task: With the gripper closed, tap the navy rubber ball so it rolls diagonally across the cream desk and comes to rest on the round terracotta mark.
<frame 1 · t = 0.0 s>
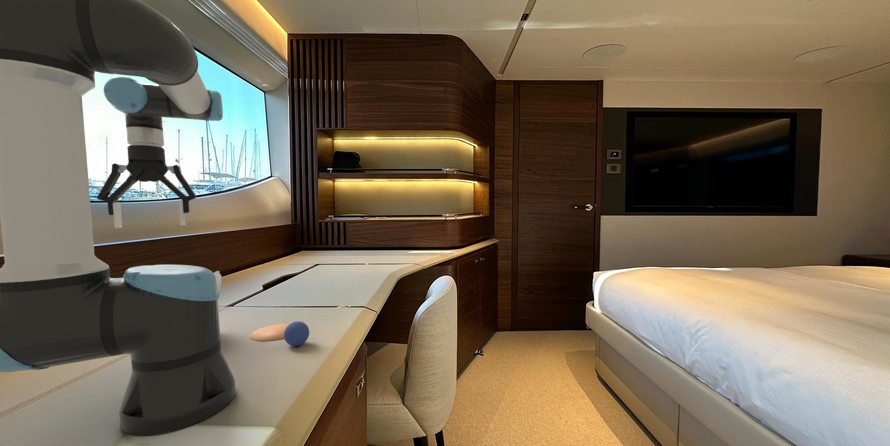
hand: (151, 226, 94), 28 cm above the table, tool pointing down, fingers open, 13 cm apart
shell sculpture: (202, 335, 91), on the table
ball: (296, 333, 83), on the table
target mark: (276, 332, 92), on the table
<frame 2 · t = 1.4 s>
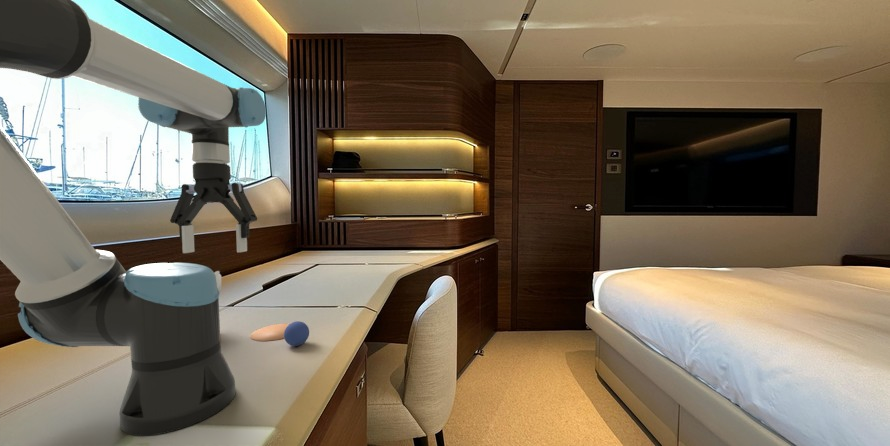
hand: (215, 252, 85), 22 cm above the table, tool pointing down, fingers open, 13 cm apart
nothing on the table moved.
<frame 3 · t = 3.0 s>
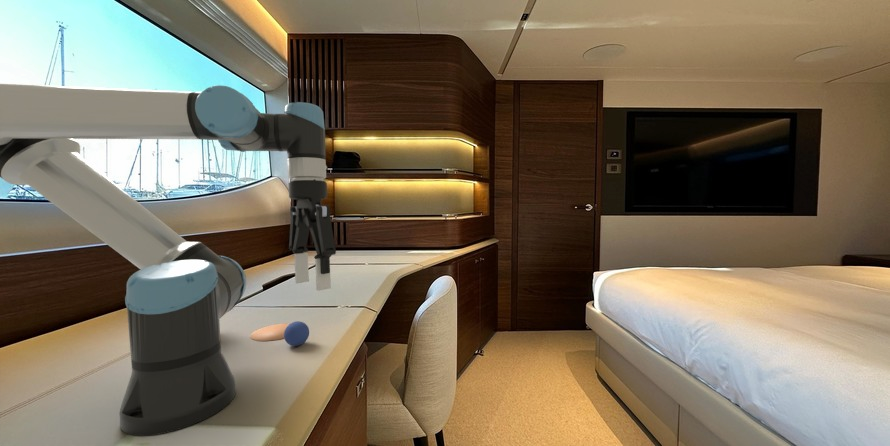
hand: (312, 285, 75), 16 cm above the table, tool pointing down, fingers open, 9 cm apart
nothing on the table moved.
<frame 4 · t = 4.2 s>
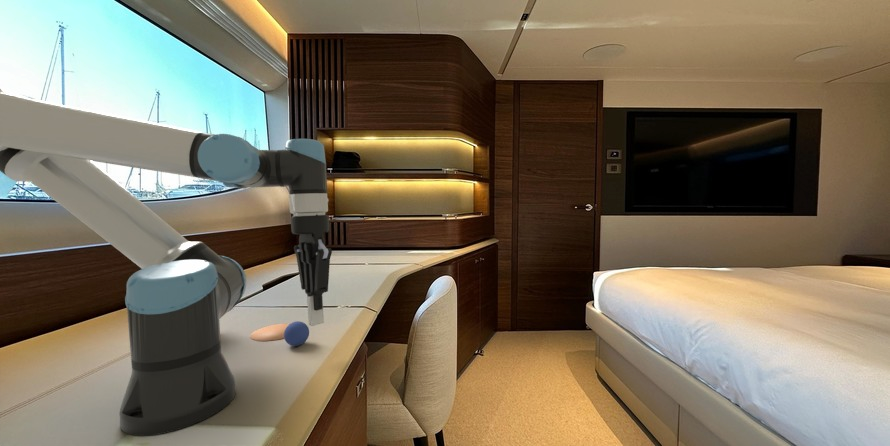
hand: (316, 323, 76), 7 cm above the table, tool pointing down, fingers closed
nothing on the table moved.
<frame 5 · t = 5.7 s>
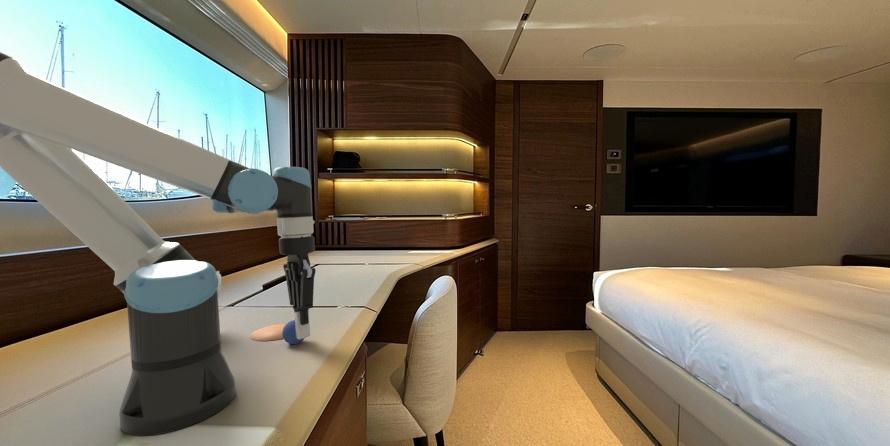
hand: (303, 336, 82), 2 cm above the table, tool pointing down, fingers closed
ball: (294, 331, 84), on the table, touching gripper
everything else where it was.
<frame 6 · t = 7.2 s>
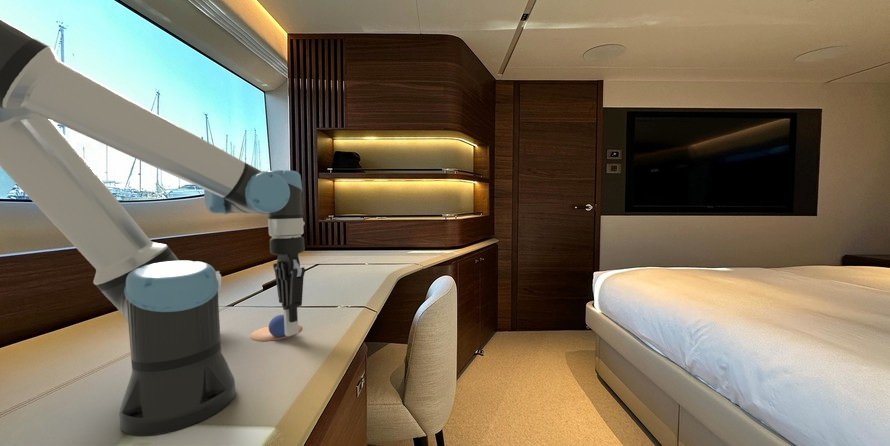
hand: (291, 333, 85), 2 cm above the table, tool pointing down, fingers closed
ball: (280, 326, 88), on the table
everything else where it was.
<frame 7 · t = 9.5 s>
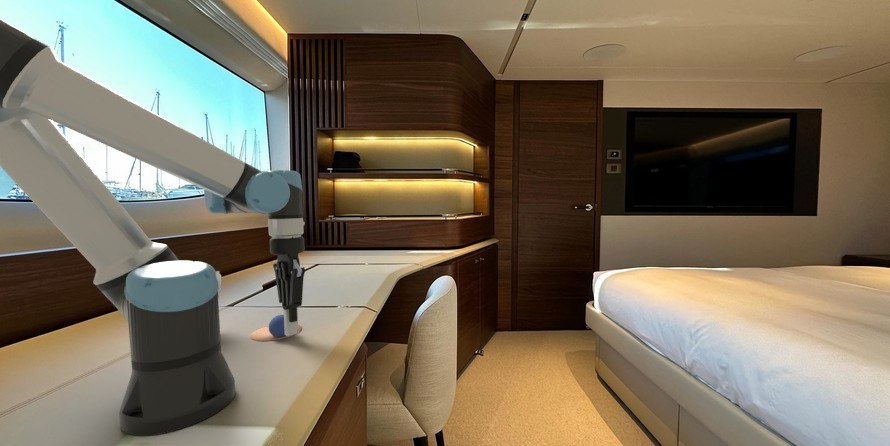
hand: (291, 333, 85), 2 cm above the table, tool pointing down, fingers closed
nothing on the table moved.
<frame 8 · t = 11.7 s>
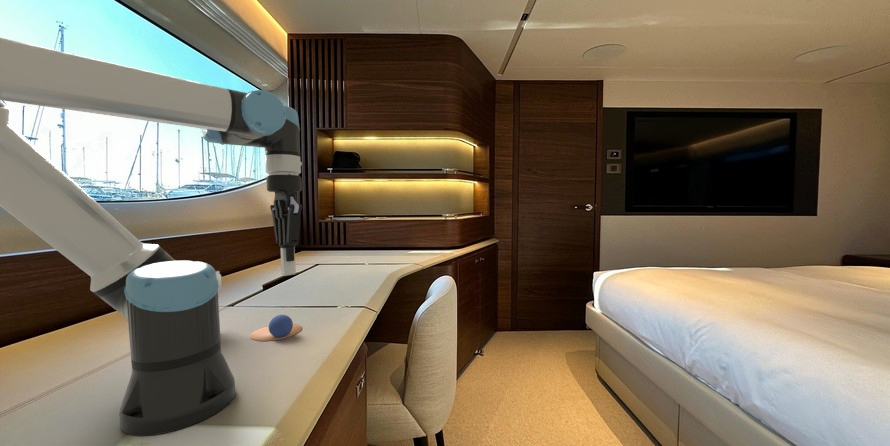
hand: (288, 274, 84), 16 cm above the table, tool pointing down, fingers closed
nothing on the table moved.
at the end: ball 4.4 cm from the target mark (horizontally); ball at rest at the end (0.0 cm/s); ball moved 8.3 cm from its start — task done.
